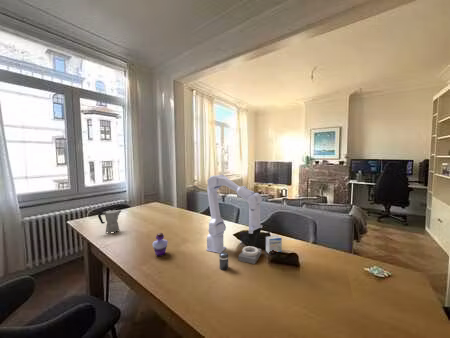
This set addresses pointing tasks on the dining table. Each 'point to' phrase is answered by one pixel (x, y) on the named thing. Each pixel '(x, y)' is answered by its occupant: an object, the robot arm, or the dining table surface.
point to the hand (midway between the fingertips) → (254, 242)
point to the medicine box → (274, 243)
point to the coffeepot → (110, 220)
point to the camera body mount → (249, 254)
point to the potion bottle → (160, 245)
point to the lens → (223, 261)
